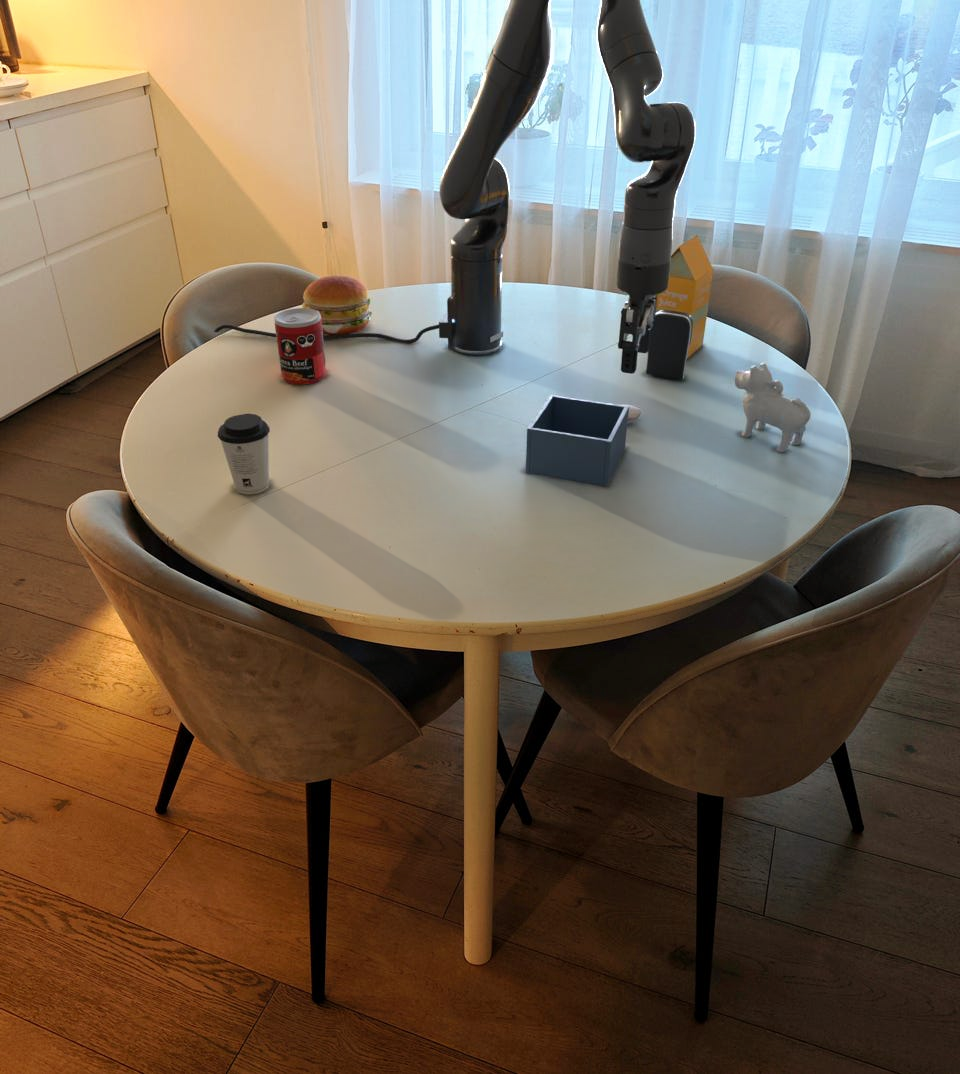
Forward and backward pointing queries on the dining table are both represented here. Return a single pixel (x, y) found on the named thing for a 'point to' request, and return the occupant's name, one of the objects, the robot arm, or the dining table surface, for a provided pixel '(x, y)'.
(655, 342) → the battery charger
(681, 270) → the orange juice
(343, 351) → the dining table surface
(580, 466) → the blue open box
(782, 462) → the dining table surface
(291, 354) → the canned food
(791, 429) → the dog figurine
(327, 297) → the burger
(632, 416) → the cream rounded dome
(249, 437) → the coffee cup
